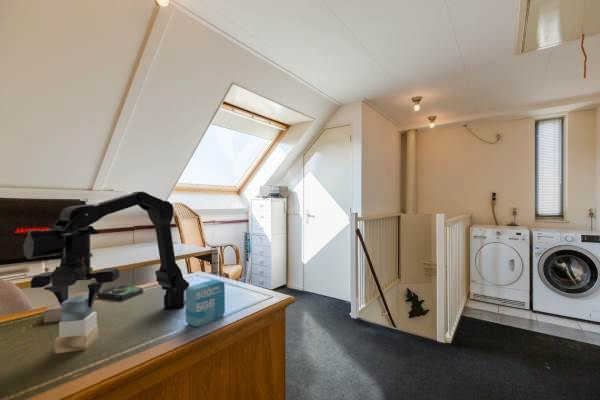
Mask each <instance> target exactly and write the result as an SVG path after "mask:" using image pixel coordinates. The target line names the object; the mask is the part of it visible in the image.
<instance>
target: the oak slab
mask: <svg viewBox="0 0 600 400" xmlns="http://www.w3.org/2000/svg"><path fill="white" fill-rule="evenodd" d="M98 338H99V324H98V323H97V325H96V326H95V327H94V328H93V329H92V330H91V331H90V332H88V333H87V334H86V335H82V336H72V337H62V338H59V335H58V336H57V337H56V338H55V339H54V354H56V355H57V354H62V353H69V352H70V353H71V352H77V351H78V352H79V351H86V350H88V349H89V347H91V345H93V343H94V342H95V341H96V340H97V339H98Z"/></svg>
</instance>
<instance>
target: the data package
mask: <svg viewBox="0 0 600 400" xmlns="http://www.w3.org/2000/svg"><path fill="white" fill-rule="evenodd" d="M225 286H226V285H225V283H224V281H221V280H217V279H211V280H208V281H204V282H200V283H197V284H193V285H189V287H188V288H187V289H186V290H185V301H186V303H185V322H186V324H187V325H191V326H193V327H195V328H198V327H197V326H199V327H200V325H201V326H203V325H206V324H208V323H210V322H213V321H214V319H215V320H218V319H220V318H222V317H223V316H224V315H225V312H226V309H225V308H226V299H225V295H226V291H225V290H226V289H225ZM221 316H222V317H221ZM219 317H220V318H219ZM217 318H218V319H217ZM212 320H213V321H212ZM209 321H210V322H209ZM207 322H208V323H207ZM205 323H206V324H205ZM202 324H203V325H202Z"/></svg>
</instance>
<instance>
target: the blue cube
mask: <svg viewBox="0 0 600 400" xmlns="http://www.w3.org/2000/svg"><path fill="white" fill-rule="evenodd" d="M88 299H89V295H86V296H74V297H71V298H69V299H67V300H66V301H64V302H62V322H65V321H75V320H84V319H85V318H86V317H88V316H89V315H90V314H91V313H93V312H94V311H93V309H94V308H93V305H94V304H93V305H92V307H91V308H89V305H88Z"/></svg>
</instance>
